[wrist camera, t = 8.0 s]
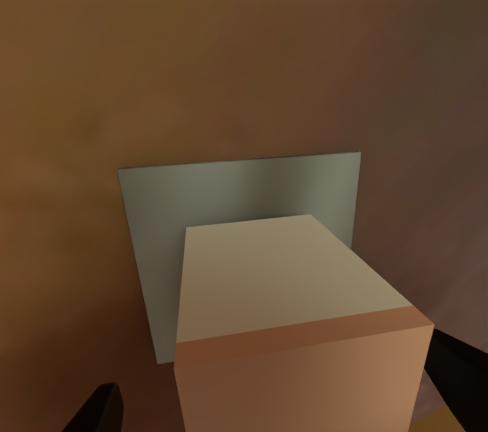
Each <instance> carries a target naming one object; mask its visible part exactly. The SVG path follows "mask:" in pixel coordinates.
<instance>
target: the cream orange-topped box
mask: <svg viewBox="0 0 488 432" xmlns="http://www.w3.org/2000/svg"><path fill="white" fill-rule="evenodd" d="M433 328H434V324H433V323H432V322H431V321H430V320H429V319H428V318H427V317H426V316H424V315H423V314H422V313H421V312H420V311H419V310H418V309H417V308H415V307H414V306H413V305H412V304H411V303H410V302H409V301H408V300H406V299H405V298H404V297H403V296H402V295H401V294H400V293H399V292H398V291H396V290H395V289H394V288H393V287H392V286H391V285H390V284H389V283H387V282H386V281H385V280H384V279H383V278H382V277H381V276H380V275H378V274H377V273H376V272H375V271H374V270H373V269H372V268H371V267H369V266H368V265H367V264H366V263H365V262H364V261H363V260H362V259H360V258H359V257H358V256H357V255H356V254H355V253H354V252H353V251H351V250H350V249H349V248H348V247H347V246H346V245H345V244H344V243H342V242H341V241H340V240H339V239H338V238H337V237H336V236H335V235H333V234H332V233H331V232H330V231H329V230H328V229H327V228H326V227H324V226H323V225H322V224H321V223H320V222H319V221H318V220H317V219H315V218H314V217H313V216H312V215H311V214H308V215H298V216H289V217H279V218H270V219H260V220H251V221H241V222H232V223H222V224H213V225H203V226H194V227H186V237H185V248H184V259H183V271H182V282H181V293H180V304H179V316H178V327H177V338H176V349H175V361H174V373H175V378H176V383H177V389H178V394H179V399H180V405H181V410H182V415H183V420H184V426H185V431H186V432H408V429H409V425H410V421H411V417H412V413H413V409H414V405H415V401H416V397H417V393H418V389H419V385H420V381H421V377H422V373H423V369H424V365H425V360H426V356H427V352H428V348H429V344H430V340H431V336H432V332H433Z"/></svg>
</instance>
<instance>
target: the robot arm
mask: <svg viewBox="0 0 488 432" xmlns="http://www.w3.org/2000/svg"><path fill="white" fill-rule="evenodd" d="M424 369H425V370H426V372H427V374H428V375H429V377H430V379H431V380H432V382H433V383H434V385H435V387H436V388H437V390H438V391H439V393H440V395H441V396H442V398H443V400H444V401H445V403H446V404H447V406H448V407H449V409H450V410H451V412H452V413H453V415H454V416H455V417H456V419H457V420H458V422H459V423H460V424H461V425H462V427H463V429H464V430H465V431H466V432H488V354H487V353H485V352H483V351H481V350H479V349H477V348H475V347H473V346H471V345H469V344H467V343H465V342H463V341H460V340H458V339H456V338H454V337H452V336H450V335H448V334H446V333H444V332H442V331H440V330H438V329H435V328H433V332H432V336H431V340H430V344H429V348H428V352H427V356H426V360H425V365H424ZM123 411H124V405H123V400H122V397H121V393H120V390H119V386H118V384H117V383H116V382H112V383H106V384H101V385H100V386H99V387H98V388H97V389H96V390H95V391H94V392H93V394H92V395H91V396H90V397H89V399H88V400H87V401H86V402H85V403H84V405H83V406H82V407H81V408H80V410H79V411H78V412H77V413H76V415H75V416H74V417H73V418H72V419H71V421H70V422H69V423H68V424H67V426H66V427H65V428H64V429H63V430H62V432H121V426H122V419H123Z"/></svg>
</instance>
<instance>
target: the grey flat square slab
mask: <svg viewBox="0 0 488 432" xmlns="http://www.w3.org/2000/svg"><path fill="white" fill-rule="evenodd" d="M360 159H361V152H358V151H356V152H341V153H327V154H313V155H299V156H284V157H270V158H256V159H241V160H227V161H213V162H199V163H184V164H170V165H156V166H141V167H127V168H119V169H117V171H118V176H119V181H120V186H121V191H122V196H123V200H124V205H125V210H126V215H127V220H128V224H129V229H130V234H131V239H132V244H133V248H134V253H135V258H136V263H137V268H138V272H139V277H140V282H141V287H142V292H143V297H144V301H145V306H146V311H147V316H148V321H149V325H150V330H151V335H152V340H153V345H154V349H155V354H156V359H157V364H163V363H169V362H174V361H175V349H176V338H177V327H178V316H179V304H180V293H181V282H182V271H183V259H184V248H185V237H186V227H194V226H203V225H213V224H222V223H232V222H241V221H251V220H260V219H270V218H279V217H289V216H298V215H308V214H311V215H312V216H313V217H314V218H315V219H317V220H318V221H319V222H320V223H321V224H322V225H323V226H324V227H326V228H327V229H328V230H329V231H330V232H331V233H332V234H333V235H335V236H336V237H337V238H338V239H339V240H340V241H341V242H342V243H344V244H345V245H346V246H347V247H348V248H349V249H350V250H351V244H352V234H353V225H354V215H355V206H356V197H357V187H358V178H359V168H360Z"/></svg>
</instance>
